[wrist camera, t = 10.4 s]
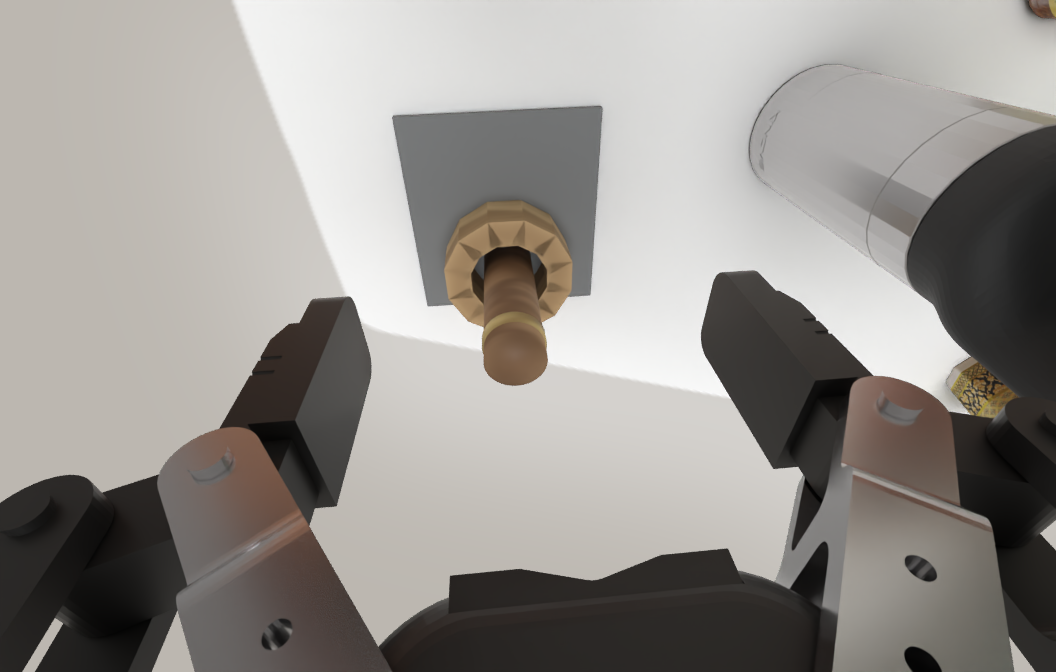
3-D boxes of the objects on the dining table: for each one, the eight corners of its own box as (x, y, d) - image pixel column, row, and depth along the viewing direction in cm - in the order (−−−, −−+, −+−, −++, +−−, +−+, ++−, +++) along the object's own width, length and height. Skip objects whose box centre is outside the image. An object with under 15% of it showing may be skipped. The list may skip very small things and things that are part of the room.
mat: (601, 106, 34) (602, 107, 34) (589, 292, 44) (590, 295, 44) (393, 115, 33) (392, 117, 33) (428, 303, 43) (427, 306, 43)
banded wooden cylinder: (531, 233, 39) (549, 332, 28) (532, 277, 42) (549, 384, 31) (480, 236, 39) (479, 337, 28) (484, 280, 42) (484, 388, 30)
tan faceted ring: (565, 197, 38) (574, 217, 34) (563, 301, 44) (570, 326, 41) (440, 204, 37) (437, 225, 34) (455, 309, 43) (454, 335, 40)
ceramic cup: (917, 406, 58) (987, 473, 50) (952, 344, 52) (1037, 409, 44) (1021, 390, 58) (1107, 455, 50) (1068, 327, 52) (1174, 389, 44)
